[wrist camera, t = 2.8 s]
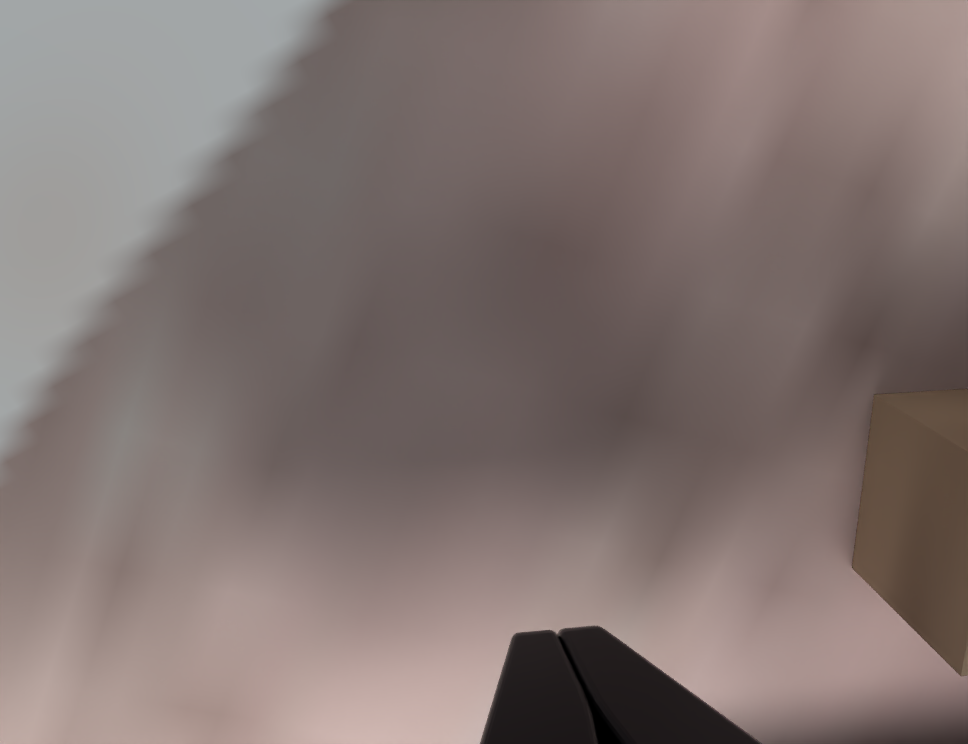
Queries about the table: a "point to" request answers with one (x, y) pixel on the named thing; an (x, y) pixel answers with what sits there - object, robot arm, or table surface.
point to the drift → (919, 515)
